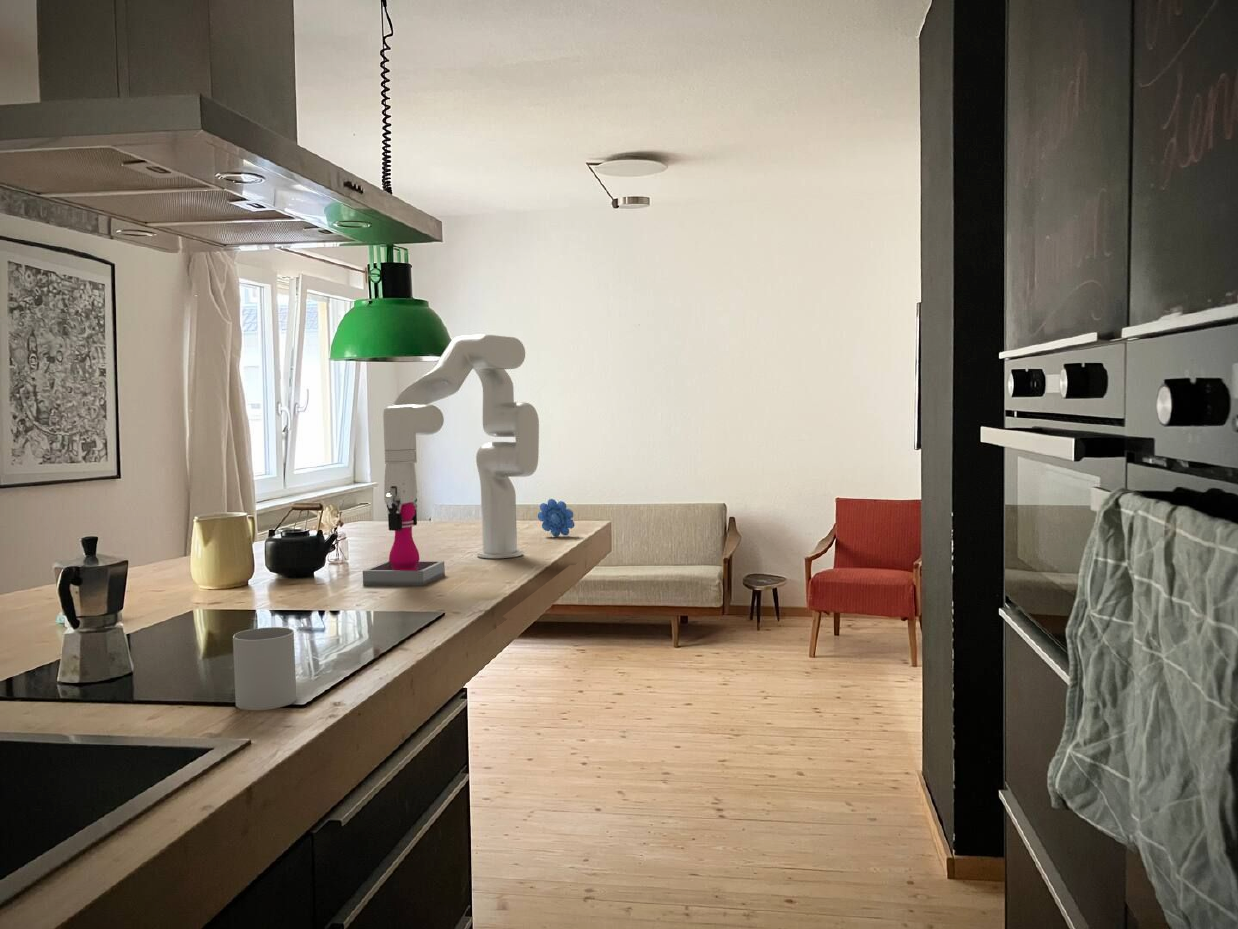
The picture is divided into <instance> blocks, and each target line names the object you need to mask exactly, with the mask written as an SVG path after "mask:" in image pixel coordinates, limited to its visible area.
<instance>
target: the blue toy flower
mask: <svg viewBox="0 0 1238 929" xmlns="http://www.w3.org/2000/svg"><path fill="white" fill-rule="evenodd" d="M567 507H568V506H567V504H566V503H565V501H562V500H560V501H558V502H557V500H555V499H553V498H549V499H548V500H547V503H546V502H541V504H540V505H539V509H540V511H541V512H538V514H537V519H538V520H539V522H542V523H541V527H542V530H544V531H545V532H550V534H551V535H552V536H553V537H556V536H557V537H559V536H560V535H562V536H568V535H569V534H570V529H571V530H572V529H573V528H575V522H574V520H573V518H574V512H573V510H571V509H569V508H567Z"/></svg>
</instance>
